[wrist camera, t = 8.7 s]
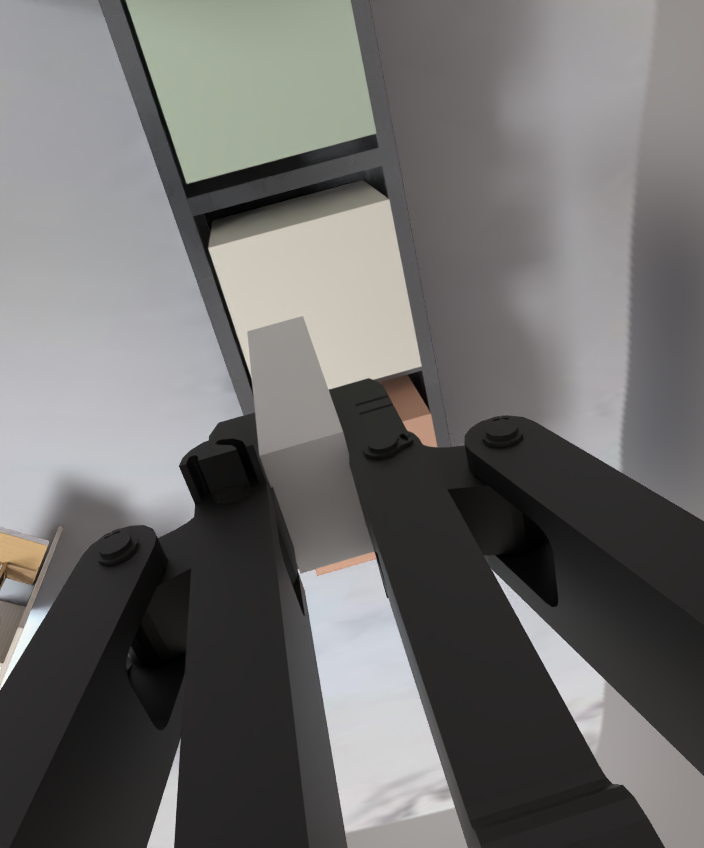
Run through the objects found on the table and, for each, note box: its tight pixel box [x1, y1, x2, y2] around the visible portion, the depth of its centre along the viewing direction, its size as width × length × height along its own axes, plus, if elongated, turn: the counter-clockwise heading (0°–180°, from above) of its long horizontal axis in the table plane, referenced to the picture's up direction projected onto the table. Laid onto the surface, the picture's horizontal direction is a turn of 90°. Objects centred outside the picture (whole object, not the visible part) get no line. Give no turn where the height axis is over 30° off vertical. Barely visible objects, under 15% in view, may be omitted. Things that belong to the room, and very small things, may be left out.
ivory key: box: [208, 180, 422, 390], centre depth 25 cm, size 6×6×5 cm
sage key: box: [126, 0, 376, 184], centre depth 21 cm, size 6×6×5 cm
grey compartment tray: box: [99, 0, 451, 569], centre depth 27 cm, size 8×25×4 cm, turn 13°
